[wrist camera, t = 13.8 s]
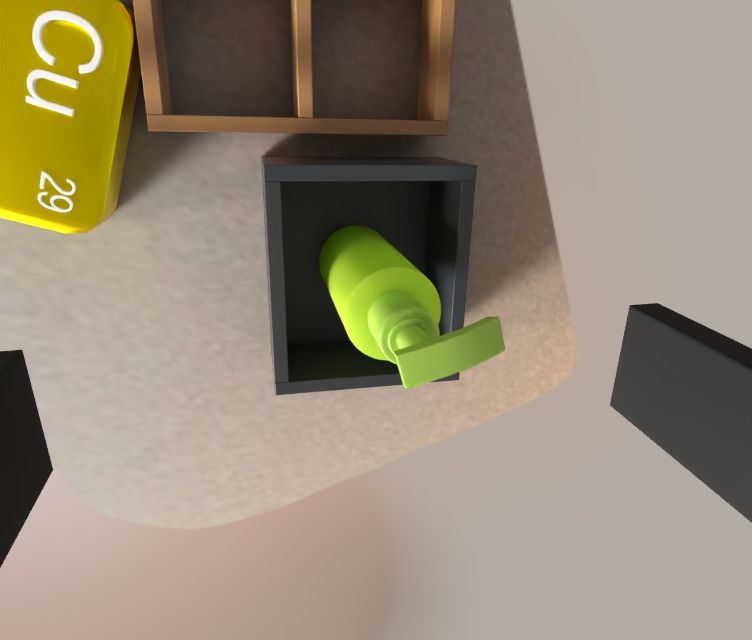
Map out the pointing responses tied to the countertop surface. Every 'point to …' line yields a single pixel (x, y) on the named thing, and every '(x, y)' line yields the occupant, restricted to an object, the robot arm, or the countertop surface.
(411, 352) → the soap dispenser
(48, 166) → the element tile
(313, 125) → the wooden divided tray
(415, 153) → the countertop surface
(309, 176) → the dark grey open box
